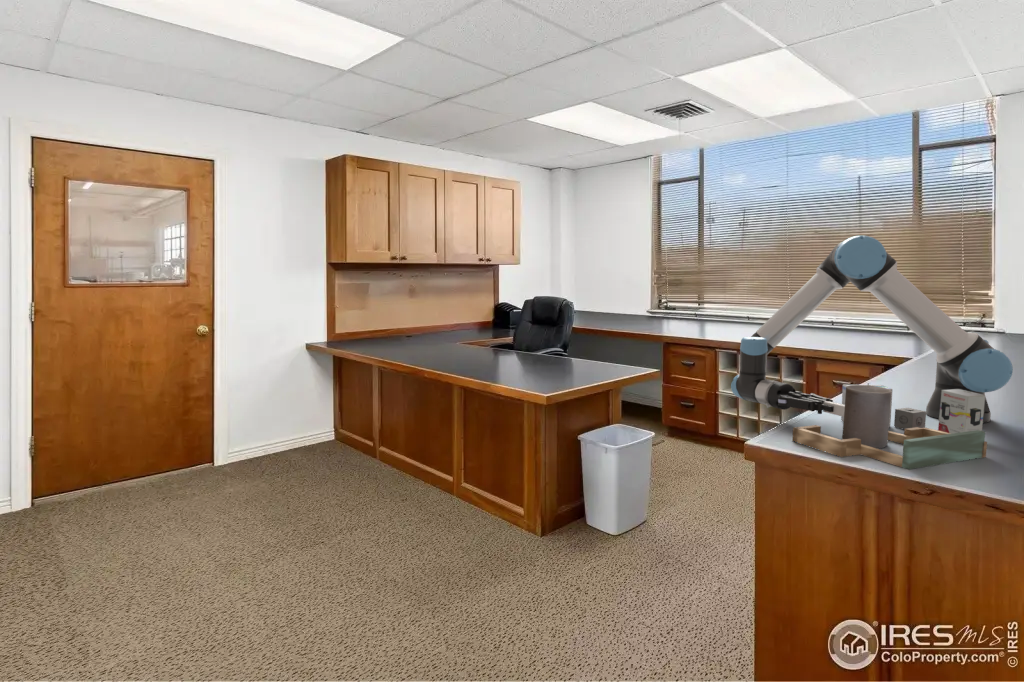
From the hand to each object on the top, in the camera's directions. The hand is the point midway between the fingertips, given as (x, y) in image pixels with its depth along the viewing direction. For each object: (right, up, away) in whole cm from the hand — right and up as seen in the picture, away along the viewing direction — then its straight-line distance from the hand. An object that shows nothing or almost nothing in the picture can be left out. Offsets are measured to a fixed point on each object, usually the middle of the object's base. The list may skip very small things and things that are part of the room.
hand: (847, 411), depth 150 cm
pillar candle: (+2, -8, -4) cm, 9 cm away
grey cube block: (+23, -6, +11) cm, 27 cm away
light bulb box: (+14, -6, +16) cm, 22 cm away
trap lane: (+4, -8, -8) cm, 12 cm away
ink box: (+30, -7, +2) cm, 31 cm away
